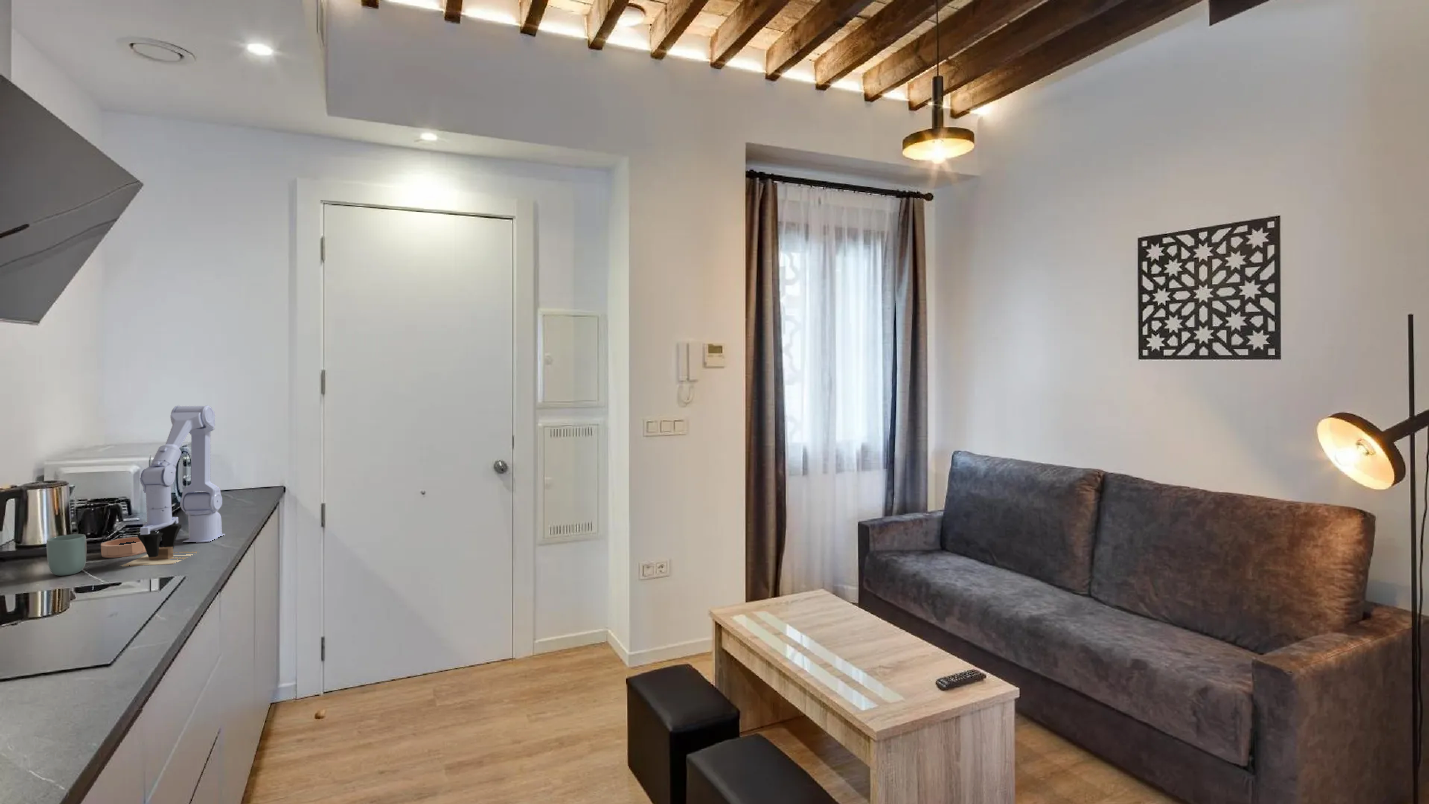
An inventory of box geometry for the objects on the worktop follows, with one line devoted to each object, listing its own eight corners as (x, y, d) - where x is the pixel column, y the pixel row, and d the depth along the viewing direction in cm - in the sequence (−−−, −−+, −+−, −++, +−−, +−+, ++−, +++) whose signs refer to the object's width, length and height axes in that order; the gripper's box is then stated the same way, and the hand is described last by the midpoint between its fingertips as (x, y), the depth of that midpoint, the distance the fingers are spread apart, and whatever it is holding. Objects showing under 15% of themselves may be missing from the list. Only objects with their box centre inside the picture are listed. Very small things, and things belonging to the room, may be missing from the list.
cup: (55, 571, 190) (54, 535, 189) (92, 568, 193) (90, 532, 192) (42, 579, 182) (40, 542, 182) (80, 575, 186) (78, 539, 185)
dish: (117, 548, 213) (117, 537, 213) (157, 547, 215) (157, 536, 215) (92, 558, 202) (91, 546, 202) (134, 556, 204) (134, 545, 204)
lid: (150, 555, 208) (149, 543, 207) (199, 553, 210) (199, 541, 210) (119, 569, 194) (119, 555, 194) (173, 566, 197) (172, 553, 196)
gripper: (159, 503, 208) (161, 547, 209) (127, 513, 194) (129, 560, 194) (185, 502, 209) (187, 546, 210) (155, 512, 195) (157, 559, 195)
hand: (161, 553), depth 202 cm, fingers open, 7 cm apart
